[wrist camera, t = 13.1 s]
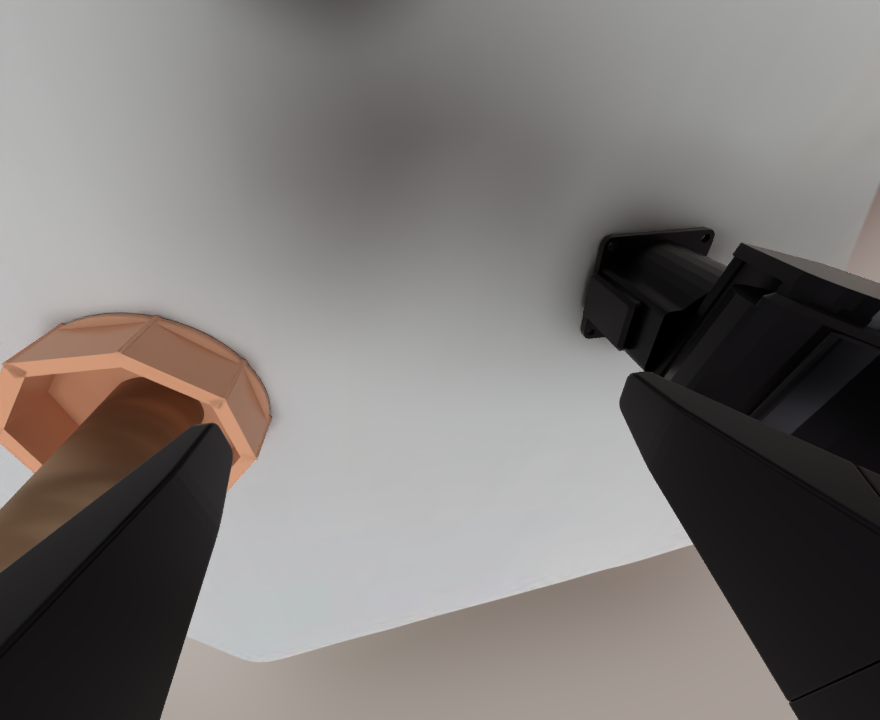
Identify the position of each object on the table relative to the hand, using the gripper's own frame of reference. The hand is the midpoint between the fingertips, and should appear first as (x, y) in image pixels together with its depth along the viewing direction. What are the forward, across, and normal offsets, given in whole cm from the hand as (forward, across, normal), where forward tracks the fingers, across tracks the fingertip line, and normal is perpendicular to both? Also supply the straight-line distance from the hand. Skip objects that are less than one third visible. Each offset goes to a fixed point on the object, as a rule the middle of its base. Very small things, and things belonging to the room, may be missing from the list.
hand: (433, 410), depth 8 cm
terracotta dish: (+13, +16, +9) cm, 22 cm away
